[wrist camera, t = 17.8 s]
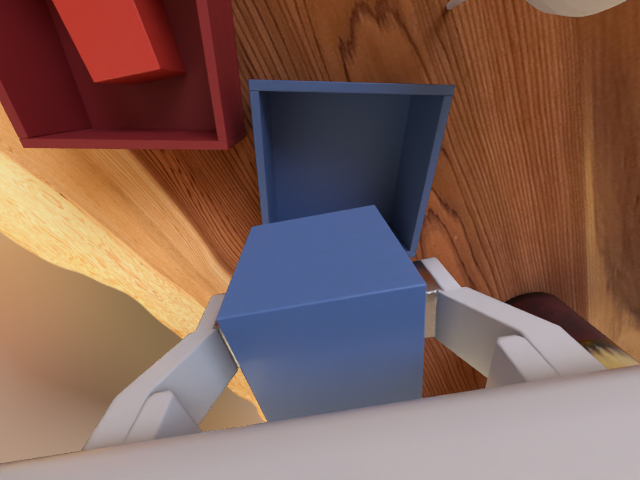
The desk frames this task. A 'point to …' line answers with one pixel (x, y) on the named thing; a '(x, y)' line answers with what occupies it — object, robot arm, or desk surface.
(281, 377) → the blue block
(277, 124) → the blue bin
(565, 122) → the desk surface
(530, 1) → the lollipop
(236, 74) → the red bin
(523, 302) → the vase
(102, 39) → the red block
